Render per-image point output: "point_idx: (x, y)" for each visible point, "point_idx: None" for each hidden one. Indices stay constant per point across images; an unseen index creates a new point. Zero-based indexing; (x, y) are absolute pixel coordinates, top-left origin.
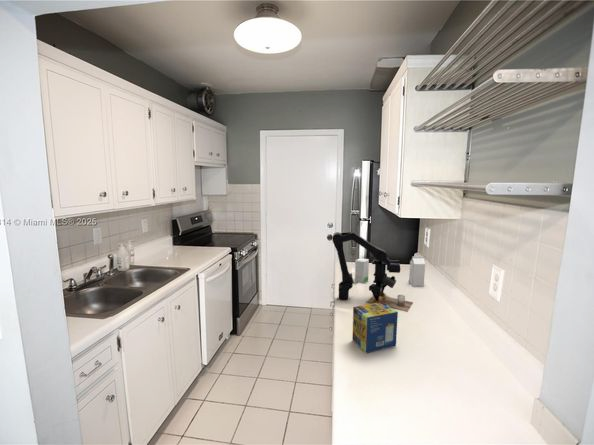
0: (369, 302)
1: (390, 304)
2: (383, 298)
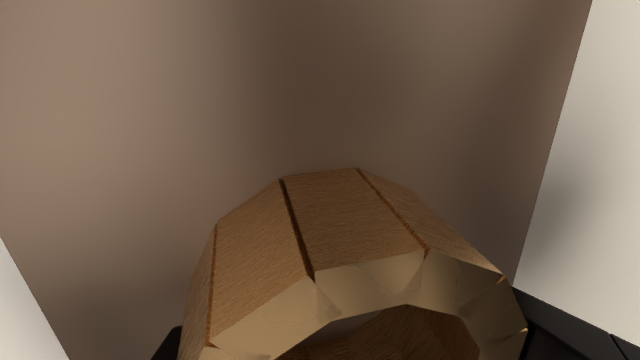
0: None
1: (428, 7)
2: (436, 227)
